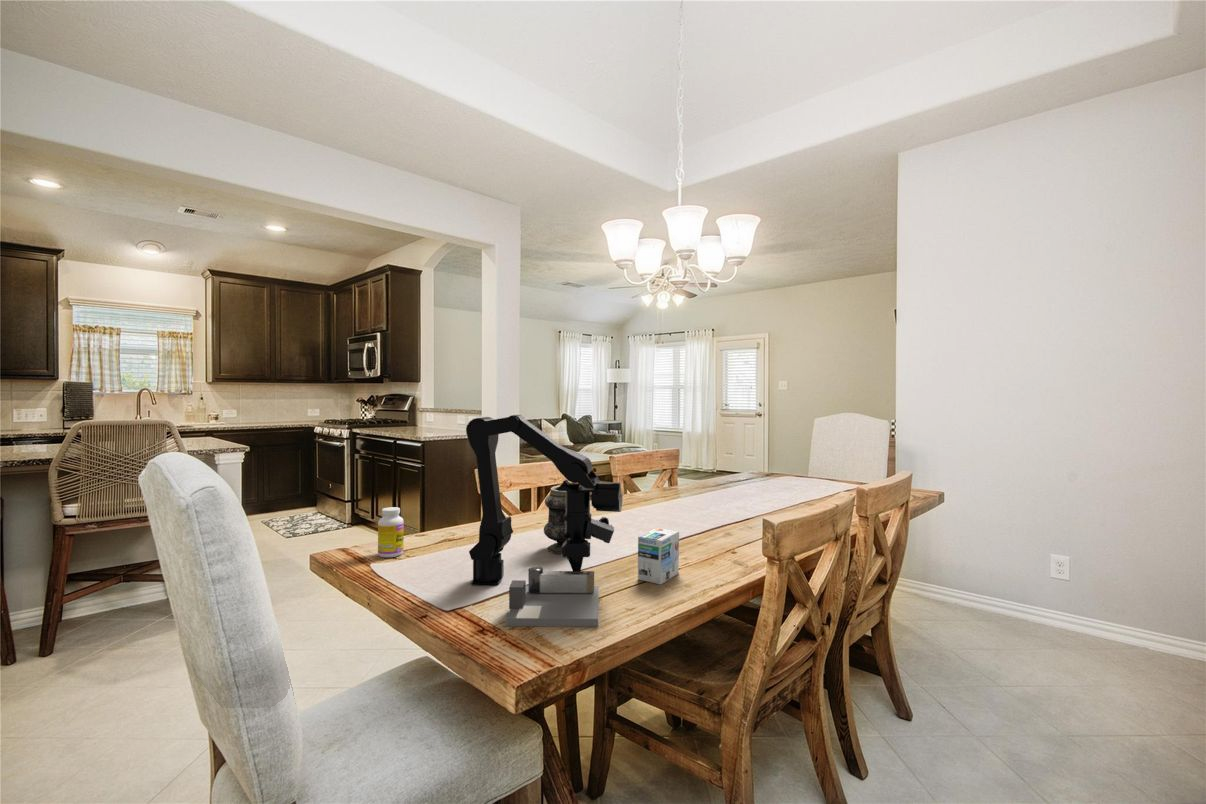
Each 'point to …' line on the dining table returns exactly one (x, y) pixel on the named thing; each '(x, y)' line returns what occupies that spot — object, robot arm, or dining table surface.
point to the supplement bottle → (390, 533)
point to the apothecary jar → (556, 519)
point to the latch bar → (560, 581)
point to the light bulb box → (658, 555)
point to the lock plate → (551, 607)
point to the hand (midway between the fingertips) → (577, 575)
